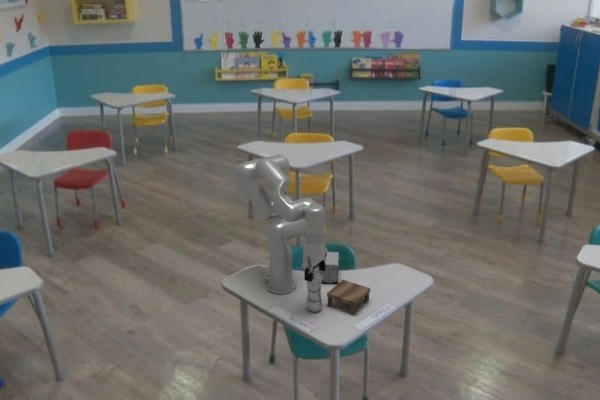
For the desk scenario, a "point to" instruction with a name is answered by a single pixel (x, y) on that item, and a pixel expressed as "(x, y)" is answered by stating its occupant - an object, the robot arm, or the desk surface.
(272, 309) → the desk surface
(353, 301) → the walnut stand
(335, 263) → the toy vehicle
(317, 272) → the plastic bottle
